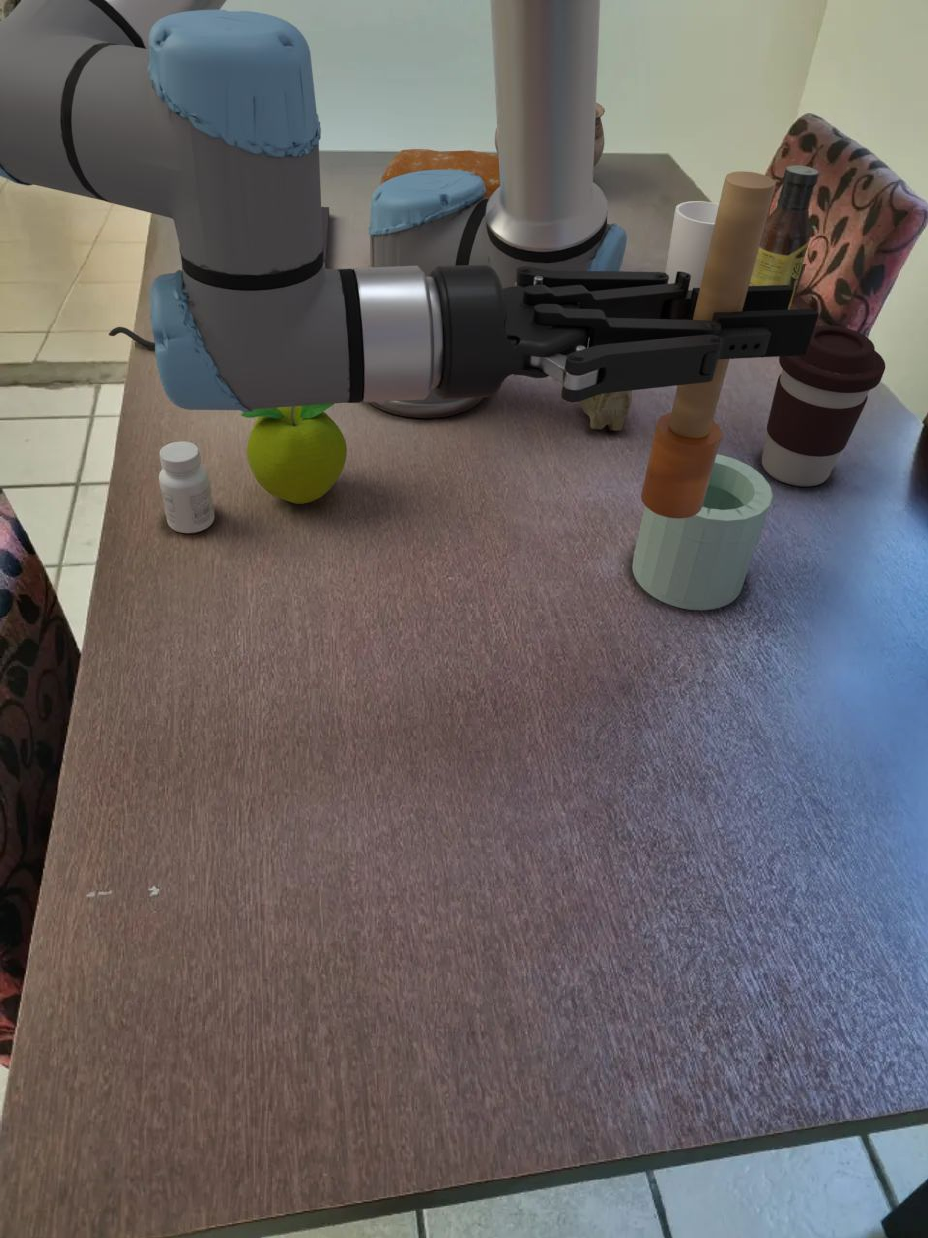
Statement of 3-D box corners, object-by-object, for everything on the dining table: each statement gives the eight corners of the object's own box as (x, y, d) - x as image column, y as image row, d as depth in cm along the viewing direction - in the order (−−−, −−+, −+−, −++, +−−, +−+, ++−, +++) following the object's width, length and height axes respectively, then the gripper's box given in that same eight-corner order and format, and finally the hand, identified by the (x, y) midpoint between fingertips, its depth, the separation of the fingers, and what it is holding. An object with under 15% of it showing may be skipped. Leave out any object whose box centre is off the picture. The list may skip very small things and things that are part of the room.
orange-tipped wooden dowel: (641, 515, 66) (715, 188, 51) (639, 479, 69) (707, 163, 54) (704, 521, 66) (796, 196, 51) (699, 486, 69) (784, 169, 54)
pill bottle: (218, 507, 91) (208, 438, 86) (210, 535, 88) (199, 465, 82) (172, 506, 91) (159, 437, 85) (163, 534, 87) (148, 463, 82)
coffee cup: (772, 434, 107) (812, 308, 96) (855, 468, 102) (907, 340, 92) (731, 469, 101) (770, 339, 91) (818, 507, 96) (868, 374, 86)
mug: (705, 303, 132) (723, 229, 125) (649, 285, 136) (663, 211, 129) (738, 280, 139) (757, 208, 132) (684, 263, 142) (700, 192, 135)
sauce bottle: (784, 338, 125) (832, 181, 112) (737, 331, 126) (778, 175, 113) (782, 317, 130) (827, 165, 117) (736, 311, 131) (776, 159, 117)
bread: (388, 242, 142) (388, 130, 131) (560, 261, 140) (574, 148, 130) (369, 279, 132) (367, 160, 121) (554, 299, 130) (569, 180, 120)
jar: (633, 603, 84) (655, 512, 77) (630, 534, 91) (649, 446, 85) (748, 616, 83) (780, 526, 77) (735, 546, 91) (763, 458, 84)
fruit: (243, 476, 95) (232, 387, 88) (333, 462, 98) (329, 375, 91) (262, 529, 89) (251, 438, 82) (357, 512, 92) (354, 423, 85)
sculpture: (619, 406, 110) (656, 281, 100) (631, 439, 104) (671, 311, 94) (571, 401, 109) (603, 274, 99) (580, 434, 104) (615, 304, 94)
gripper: (409, 332, 63) (732, 319, 67) (451, 463, 52) (837, 438, 56) (410, 219, 58) (760, 212, 62) (458, 336, 47) (881, 319, 51)
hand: (796, 319), depth 59 cm, fingers closed on orange-tipped wooden dowel, 3 cm apart
